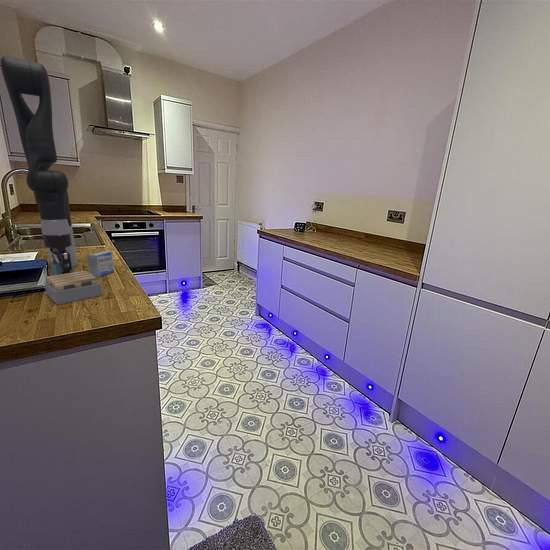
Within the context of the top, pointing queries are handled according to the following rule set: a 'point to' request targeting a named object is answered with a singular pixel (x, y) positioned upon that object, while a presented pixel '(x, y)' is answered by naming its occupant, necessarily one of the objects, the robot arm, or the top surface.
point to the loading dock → (73, 292)
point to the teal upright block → (58, 268)
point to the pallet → (71, 279)
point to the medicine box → (100, 263)
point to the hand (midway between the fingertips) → (63, 278)
